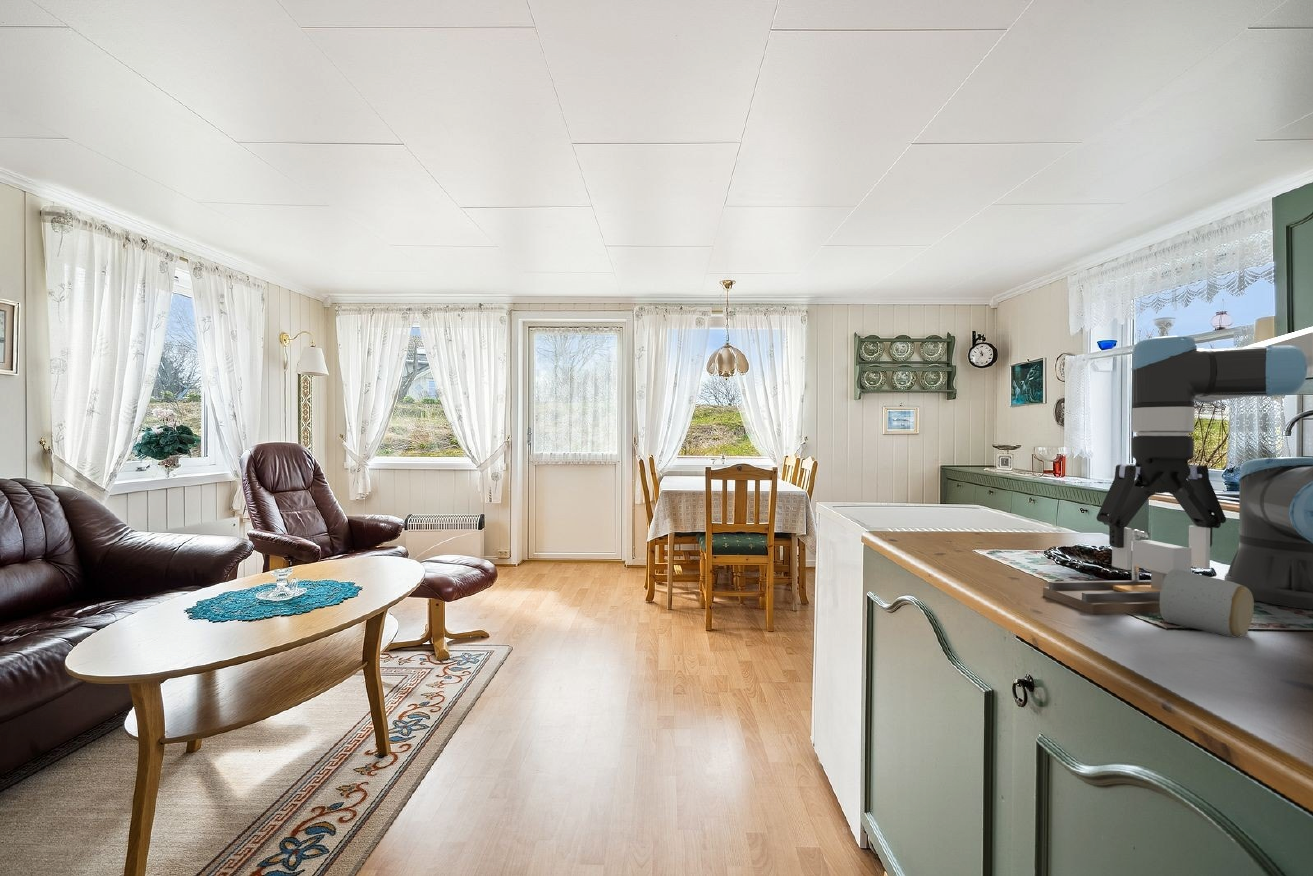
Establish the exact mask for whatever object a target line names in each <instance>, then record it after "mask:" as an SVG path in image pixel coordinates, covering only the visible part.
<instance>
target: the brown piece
mask: <svg viewBox="0 0 1313 876" xmlns="http://www.w3.org/2000/svg"><path fill="white" fill-rule="evenodd" d="M1126 585H1151V579H1145V580H1144V579H1142V580H1141V579H1139V580H1132V579H1131V580H1128V579H1127V580H1072V581H1069V580H1068V581H1067V580H1065V581H1064V580H1062V581H1048V586H1042V596H1043V597H1046V598H1048V599H1051V600H1053V601H1056V602H1059V603H1061V604H1064V605H1066V606H1070V607H1072V608H1075V609H1077V610H1080V611H1083V612H1086V613H1088V614H1091V615H1122V614H1123V615H1127V614H1129V615H1133V614H1134V615H1135V614H1161V613H1160V592H1161V591H1144V592H1122V591H1119V590H1115V589H1113V586H1126Z"/></svg>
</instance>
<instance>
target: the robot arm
mask: <svg viewBox="0 0 1313 876" xmlns="http://www.w3.org/2000/svg"><path fill="white" fill-rule="evenodd" d="M1131 365H1132V367H1131V371H1132V378H1131V379H1132V408H1131V409H1132V411H1131V413H1132V414H1131V415H1132V416H1131V418H1132V419H1131V431H1132V432H1133V433H1136V435H1133V437H1132V438H1131V457H1132V458H1134V460H1135V464H1134V465H1133V464H1120V463H1119V464H1117V465H1116V466H1115V471H1114V478H1113V480H1112V483H1111V485H1110V488H1109V489H1108V491H1107V494H1106V495H1105V498H1104V500H1103V502H1102V504H1101V507H1100V508H1099V511H1098V513H1097V515H1096V520H1097V522H1100V523H1102V524H1103V525H1106V526H1108V530H1109V531H1108V532H1109V533H1108V535H1109V536H1108V538H1109V539H1108V543H1109V545H1110V547H1111V548H1112V549H1111V567H1114V568H1117V569H1122V570H1125V571H1132V530H1133V529H1132V528H1131V527H1127V526H1128V524H1130V522H1131V521H1132V520H1133V518H1134V517H1135V516H1136V514H1137V513H1138V512H1139V510H1140V509H1141V508H1142V507H1143V505H1144V504H1146V502H1147V500H1148V499H1149V498H1150V497H1152V496H1154V495H1155V494H1165V493H1166V494H1170V495H1172V496H1173V497H1174V499H1175V500H1176V501H1177V502H1178V504H1179V506H1181V508H1182V509H1183V511H1184V512H1185V513H1186V514H1187V516H1188V517H1189V518H1190V520H1191V521H1192V522H1193V524H1194V525H1188V548H1191V567H1195V568H1200V569H1204V570H1211V569H1210V568H1211V547H1212V545H1213V528H1214V529H1219V528H1220V527H1221V525H1222V524H1224V523H1226V521H1227V519H1226V515H1225V513H1224V511H1223V508H1222V506H1221V503H1220V501H1219V499H1218V496H1217V494H1216V493H1215V490H1214V488H1213V484H1212V483H1211V481H1210V475H1209V467H1208V466H1207V465H1203V464H1202V465H1201V464H1189V461H1190V460H1193V458H1194V457H1195V454H1194V453H1195V438H1193V436H1190V433H1193V432H1194V433H1195V402H1200V403H1205V404H1206V403H1208V404H1209V403H1213V402H1217V401H1222V400H1232V399H1239V398H1245V397H1247V398H1248V397H1266V398H1267V397H1269V398H1270V397H1271V398H1272V396H1273V397H1275V396H1291V395H1293V394H1296V393H1297V392H1299V391H1300V390H1301V389H1302V388H1303V386H1304V384H1305V382H1306V378H1307V377H1311V376H1313V326H1311V327H1307V328H1304V329H1301V330H1297V331H1294V332H1290V333H1287V334H1284V335H1280V336H1277V337H1273V338H1269V339H1267V340H1263V341H1259V342H1256V343H1253V344H1250V345H1247V346H1242V347H1239V346H1238V347H1224V348H1223V347H1222V348H1197V344H1196V339H1195V338H1194V337H1192V336H1190V335H1189V336H1188V335H1168V336H1167V335H1165V336H1158V337H1150V338H1145V339H1143V340H1140V341H1138V342H1137V343H1136V344H1135V346H1134V347H1133V357H1132V364H1131ZM1237 481H1238V484H1239V486H1238V487H1239V490H1238V491H1239V492H1238V494H1239V499H1238V501H1239V502H1238V503H1239V504H1238V505H1239V507H1238V508H1239V511H1238V513H1239V515H1238V516H1239V517H1238V521H1239V522H1238V523H1239V524H1238V525H1239V527H1238V529H1239V530H1238V532H1239V533H1238V535H1239V536H1238V537H1239V538H1238V549H1237V551H1236V553H1235V554H1234V557H1233V559H1232V561H1231V563H1230V566H1229V568H1228V571H1227V573H1226V574H1225V575H1224V579H1223V580H1226V581H1230V582H1234V583H1237V584H1239V585H1242V586H1245V587H1247V588H1248V589H1249V590H1250V592H1251V593H1252V596H1253V600H1254V601H1257V602H1261V603H1265V604H1272V605H1278V606H1283V607H1290V608H1296V609H1303V610H1304V609H1305V610H1313V457H1311V456H1309V457H1307V456H1297V457H1296V456H1290V457H1289V456H1288V457H1287V456H1286V457H1282V456H1281V457H1262V458H1255V459H1250V460H1247V461H1245V462H1243V463H1242V465H1241V466H1240V473H1239V476H1238V479H1237Z"/></svg>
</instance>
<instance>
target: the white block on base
mask: <svg viewBox="0 0 1313 876" xmlns="http://www.w3.org/2000/svg"><path fill="white" fill-rule="evenodd" d="M1132 566H1136V567H1139V568H1141V569H1145V570H1150V580H1151V585H1126V586H1113V589H1115V590H1119V591H1122V592H1144V591H1161V587H1162V583H1163V581H1164V578H1165V576H1166V575H1167V574H1168V573H1169V572H1170V571H1171V570H1173V569H1177V570H1182V571H1186V572H1190V573H1192V566H1191V548H1189V546H1188V547H1186V546H1183V545H1182V546H1181V545H1176V544H1172V543H1166V542H1161V541H1156V540H1151V539H1139V540H1132V564H1131V567H1132Z"/></svg>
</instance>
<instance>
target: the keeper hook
mask: <svg viewBox="0 0 1313 876" xmlns="http://www.w3.org/2000/svg"><path fill="white" fill-rule="evenodd" d="M1150 536H1151V533H1150V532H1149V531H1142V530H1139V529H1138V528H1137V529H1132V540H1140V537H1141V538H1147V539H1148V538H1150ZM1131 580H1140V567H1136V566H1132V565H1131Z"/></svg>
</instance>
